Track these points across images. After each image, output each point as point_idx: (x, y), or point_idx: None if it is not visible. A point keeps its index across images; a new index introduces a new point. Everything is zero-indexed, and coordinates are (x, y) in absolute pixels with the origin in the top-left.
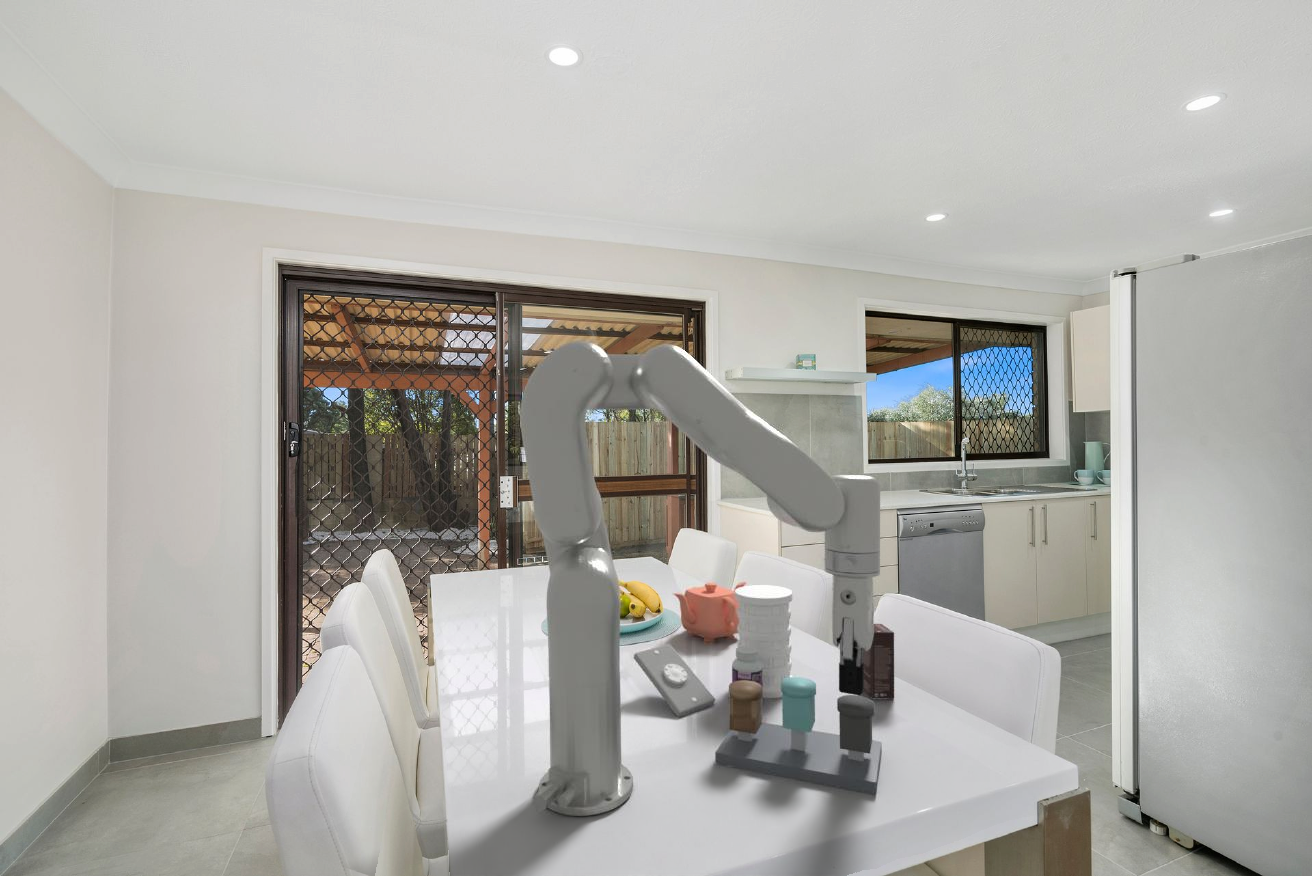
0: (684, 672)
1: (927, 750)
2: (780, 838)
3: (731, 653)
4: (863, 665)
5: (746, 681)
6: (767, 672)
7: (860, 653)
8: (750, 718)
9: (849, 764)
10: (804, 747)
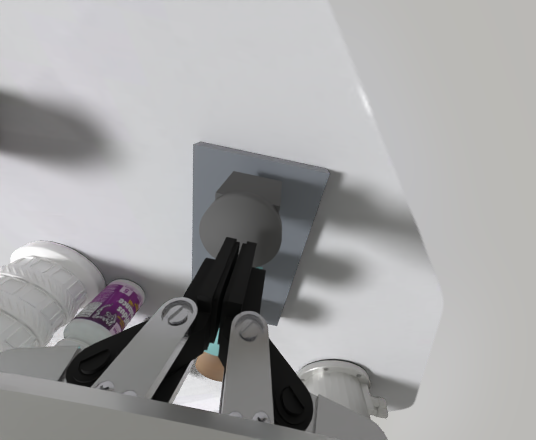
0: None
1: (161, 48)
2: (411, 272)
3: None
4: (210, 293)
5: (199, 367)
6: (65, 297)
7: (251, 381)
8: None
9: (281, 203)
10: None
